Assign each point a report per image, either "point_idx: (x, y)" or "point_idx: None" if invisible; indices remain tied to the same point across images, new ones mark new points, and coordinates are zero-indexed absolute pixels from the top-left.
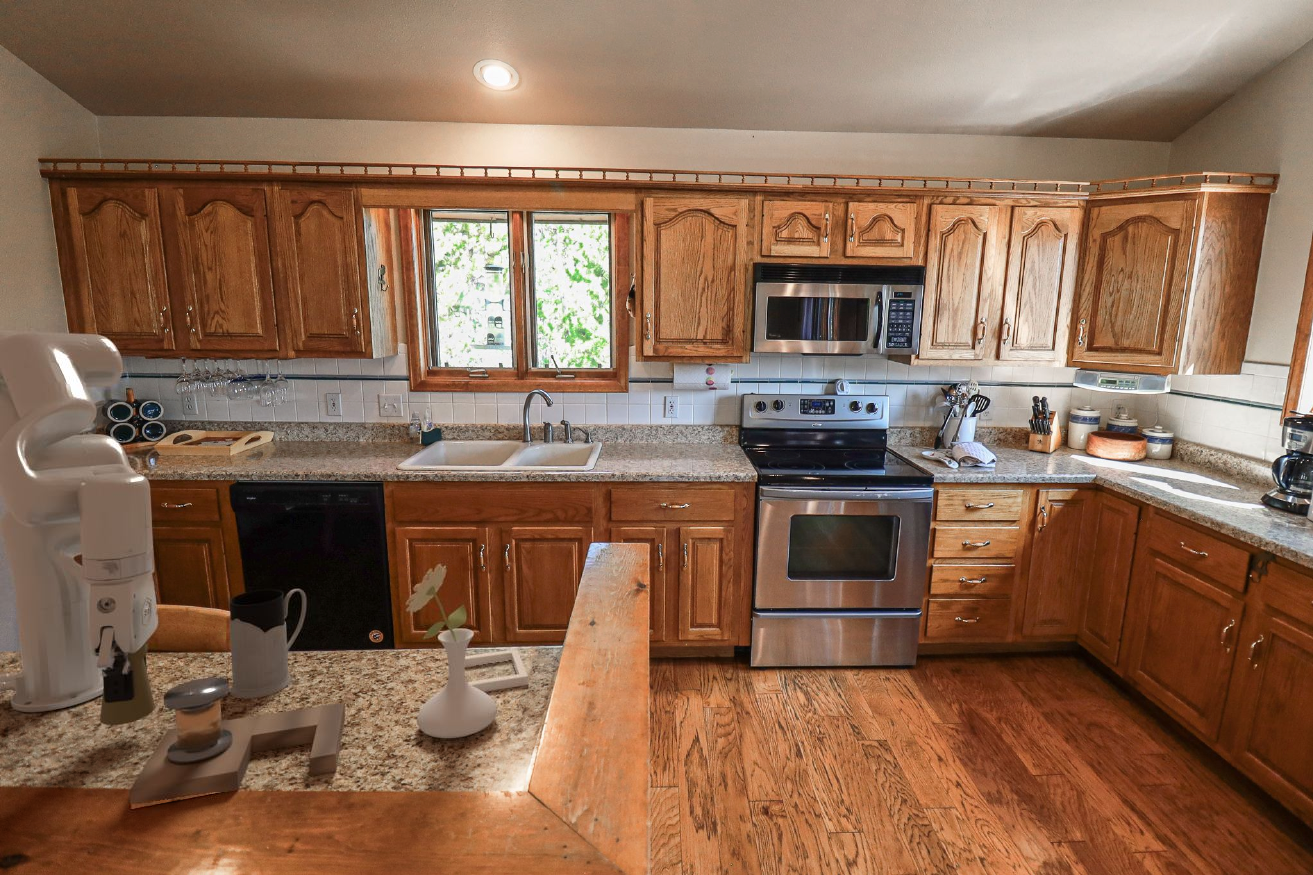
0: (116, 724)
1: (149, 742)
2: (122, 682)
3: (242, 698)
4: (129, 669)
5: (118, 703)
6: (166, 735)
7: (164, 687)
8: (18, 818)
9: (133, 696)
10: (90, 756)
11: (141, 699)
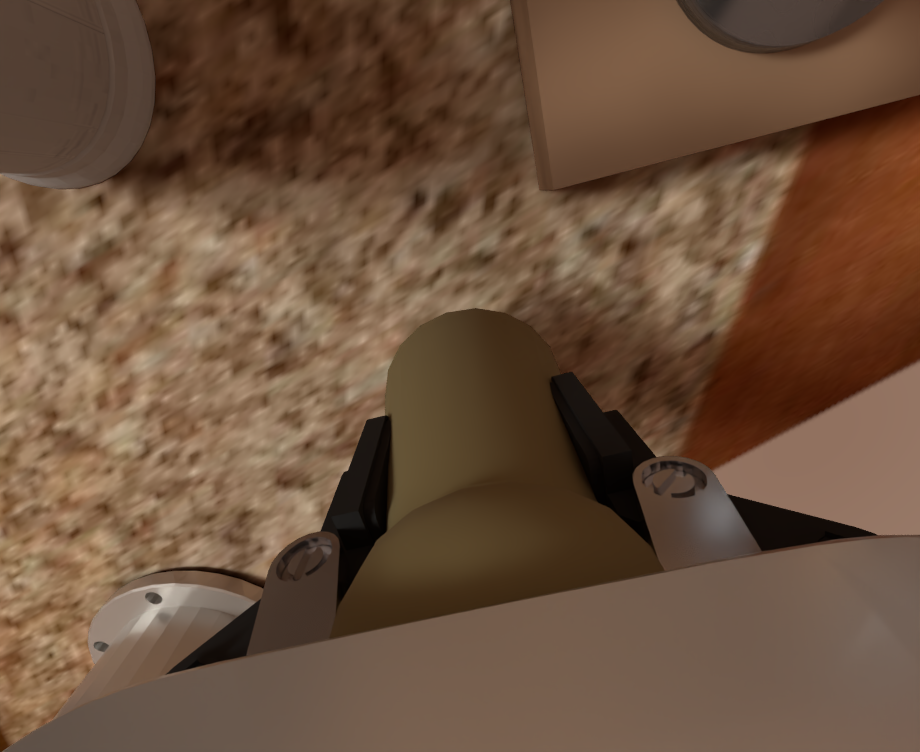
0: None
1: (497, 281)
2: (648, 451)
3: (154, 79)
4: (640, 476)
5: None
6: (606, 166)
7: (133, 442)
8: (830, 397)
9: (572, 373)
10: None
11: (519, 350)
